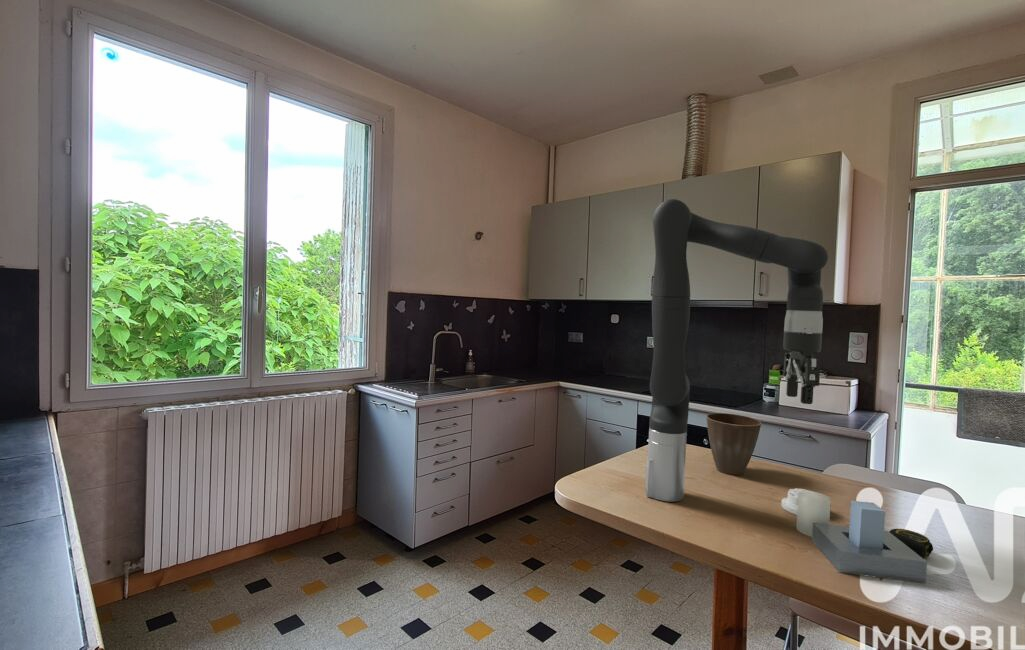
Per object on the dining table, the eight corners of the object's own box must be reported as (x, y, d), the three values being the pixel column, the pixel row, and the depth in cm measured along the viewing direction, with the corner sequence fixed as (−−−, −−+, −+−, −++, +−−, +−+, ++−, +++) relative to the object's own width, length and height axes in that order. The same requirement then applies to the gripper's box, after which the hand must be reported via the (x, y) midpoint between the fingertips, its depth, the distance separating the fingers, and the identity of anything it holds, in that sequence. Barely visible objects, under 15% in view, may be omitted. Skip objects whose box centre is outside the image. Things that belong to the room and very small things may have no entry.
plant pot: (764, 471, 142) (766, 419, 142) (750, 484, 131) (753, 428, 130) (713, 459, 152) (715, 410, 151) (696, 470, 141) (699, 418, 140)
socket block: (839, 572, 87) (840, 551, 87) (811, 541, 99) (812, 522, 99) (925, 583, 85) (927, 561, 85) (886, 550, 96) (888, 531, 96)
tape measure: (881, 548, 97) (882, 531, 97) (896, 541, 101) (897, 524, 100) (922, 565, 91) (923, 546, 91) (937, 557, 95) (938, 538, 95)
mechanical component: (790, 517, 111) (836, 522, 109) (791, 499, 111) (838, 504, 109) (775, 500, 121) (818, 505, 119) (776, 483, 121) (819, 488, 119)
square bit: (858, 564, 90) (861, 508, 90) (847, 554, 94) (851, 500, 94) (881, 567, 90) (885, 511, 89) (870, 556, 94) (873, 502, 93)
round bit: (802, 536, 101) (804, 499, 101) (792, 523, 107) (794, 489, 107) (833, 539, 100) (835, 503, 100) (821, 527, 106) (823, 492, 106)
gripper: (774, 328, 116) (770, 393, 117) (797, 331, 102) (793, 405, 103) (807, 329, 114) (803, 395, 115) (835, 332, 100) (831, 407, 101)
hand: (798, 399), depth 109 cm, fingers open, 8 cm apart
